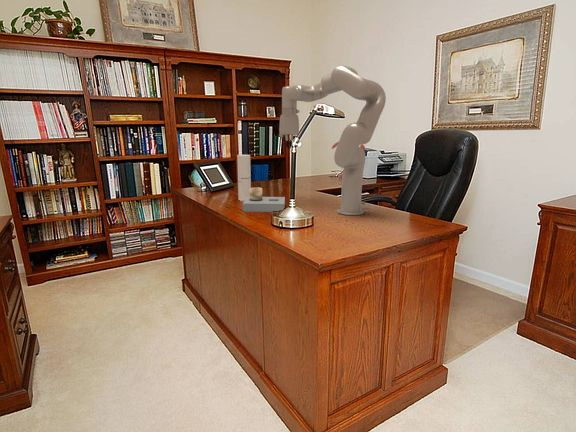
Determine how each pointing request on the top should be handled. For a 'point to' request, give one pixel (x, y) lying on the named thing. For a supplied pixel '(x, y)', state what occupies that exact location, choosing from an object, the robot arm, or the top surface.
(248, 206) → the mortise board
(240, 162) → the grey square post
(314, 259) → the top surface
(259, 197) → the birch peg
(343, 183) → the robot arm
